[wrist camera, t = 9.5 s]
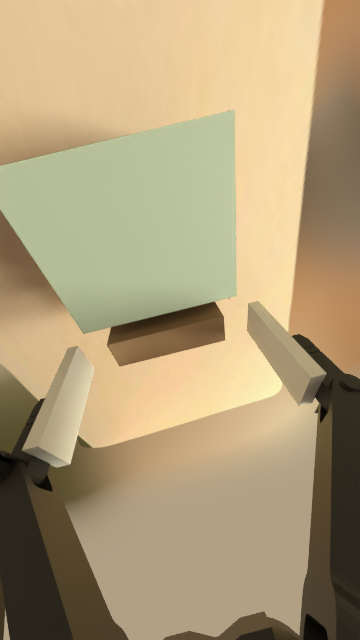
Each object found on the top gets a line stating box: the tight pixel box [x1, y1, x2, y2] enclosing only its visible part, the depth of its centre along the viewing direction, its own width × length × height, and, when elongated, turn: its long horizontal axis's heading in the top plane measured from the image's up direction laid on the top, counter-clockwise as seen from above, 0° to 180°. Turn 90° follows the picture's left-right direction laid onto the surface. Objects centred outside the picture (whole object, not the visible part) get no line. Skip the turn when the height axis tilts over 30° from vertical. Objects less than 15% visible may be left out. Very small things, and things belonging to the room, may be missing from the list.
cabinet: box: [0, 110, 237, 334], centre depth 17 cm, size 15×12×11 cm
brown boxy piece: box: [107, 302, 225, 366], centre depth 19 cm, size 4×9×11 cm, turn 101°
